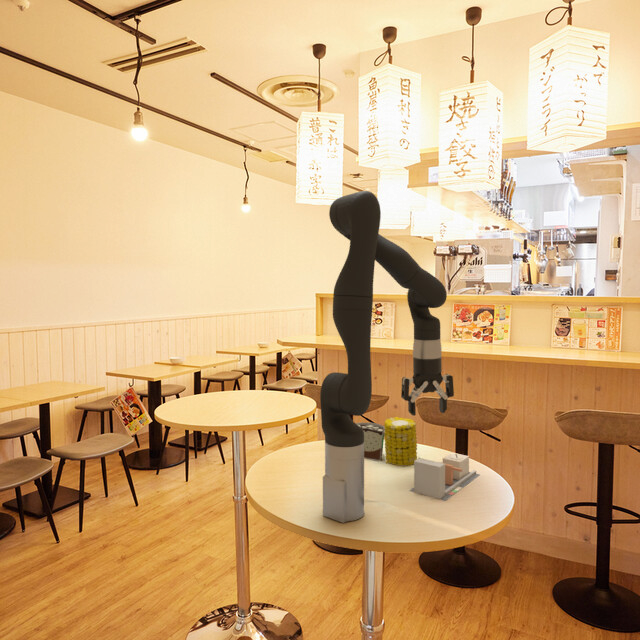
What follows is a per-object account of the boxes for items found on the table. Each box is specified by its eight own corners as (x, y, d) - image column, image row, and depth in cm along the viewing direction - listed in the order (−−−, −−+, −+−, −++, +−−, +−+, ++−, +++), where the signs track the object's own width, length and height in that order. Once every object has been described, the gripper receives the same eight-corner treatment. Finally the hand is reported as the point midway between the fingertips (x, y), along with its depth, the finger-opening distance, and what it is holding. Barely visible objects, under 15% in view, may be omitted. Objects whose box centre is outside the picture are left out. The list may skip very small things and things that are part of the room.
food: (420, 468, 150) (405, 480, 142) (387, 452, 156) (371, 462, 148) (430, 422, 146) (415, 432, 138) (396, 408, 153) (379, 416, 145)
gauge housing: (454, 483, 129) (455, 464, 129) (437, 479, 132) (437, 459, 132) (468, 473, 136) (469, 455, 136) (451, 469, 139) (452, 451, 139)
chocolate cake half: (392, 456, 156) (392, 425, 156) (384, 462, 151) (384, 430, 150) (358, 449, 163) (358, 420, 162) (349, 455, 157) (349, 424, 157)
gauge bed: (445, 506, 119) (445, 468, 119) (408, 496, 125) (409, 459, 125) (480, 479, 136) (480, 446, 135) (446, 471, 142) (446, 439, 142)
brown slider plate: (460, 487, 126) (460, 468, 126) (435, 481, 131) (435, 462, 131) (462, 486, 127) (462, 467, 127) (437, 479, 132) (437, 461, 131)
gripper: (407, 359, 127) (408, 420, 129) (458, 355, 130) (458, 415, 132) (397, 354, 135) (398, 411, 137) (445, 351, 137) (446, 407, 139)
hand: (427, 413), depth 134 cm, fingers open, 8 cm apart
